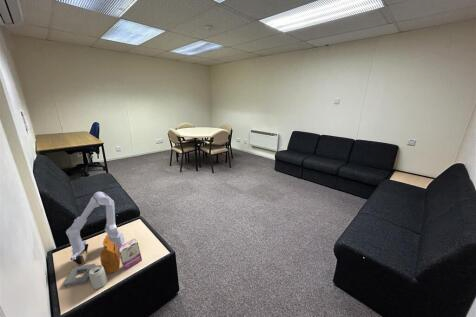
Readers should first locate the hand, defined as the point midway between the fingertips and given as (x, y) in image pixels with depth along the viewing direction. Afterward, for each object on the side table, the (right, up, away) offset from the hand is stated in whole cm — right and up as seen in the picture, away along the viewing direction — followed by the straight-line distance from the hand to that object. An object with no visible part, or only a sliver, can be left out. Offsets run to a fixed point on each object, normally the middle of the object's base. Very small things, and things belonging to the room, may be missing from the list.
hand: (82, 259), depth 136 cm
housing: (+6, -6, -9) cm, 13 cm away
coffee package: (+22, -3, -2) cm, 23 cm away
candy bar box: (+34, -3, 0) cm, 34 cm away
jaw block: (0, -2, +1) cm, 2 cm away
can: (+22, -8, -14) cm, 27 cm away
